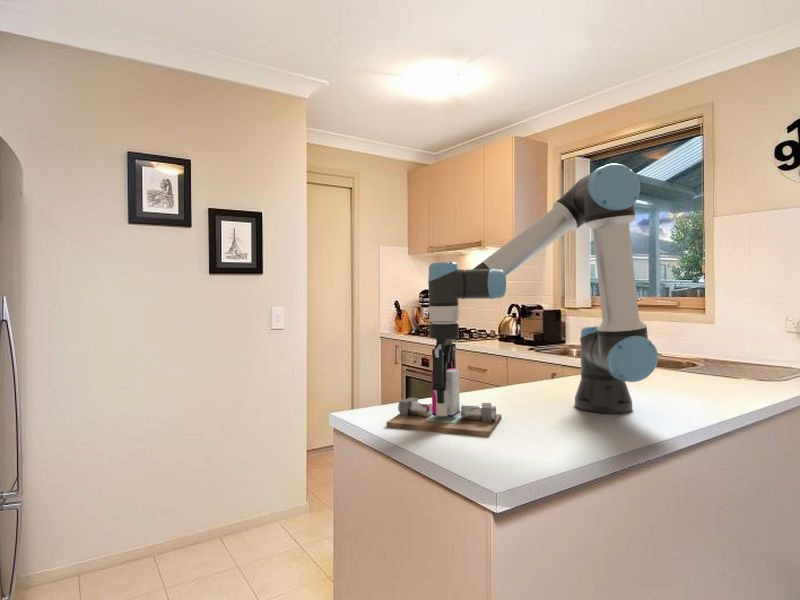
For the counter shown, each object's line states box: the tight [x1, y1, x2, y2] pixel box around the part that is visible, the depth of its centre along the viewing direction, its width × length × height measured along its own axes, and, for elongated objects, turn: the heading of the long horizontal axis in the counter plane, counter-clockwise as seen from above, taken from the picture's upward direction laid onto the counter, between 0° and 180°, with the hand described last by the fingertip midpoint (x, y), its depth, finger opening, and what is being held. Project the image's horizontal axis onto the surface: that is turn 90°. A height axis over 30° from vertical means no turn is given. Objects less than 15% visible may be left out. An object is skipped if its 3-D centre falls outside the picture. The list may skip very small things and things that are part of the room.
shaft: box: [397, 397, 432, 417], centre depth 131 cm, size 9×5×4 cm, turn 57°
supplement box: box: [430, 367, 461, 417], centre depth 127 cm, size 6×6×12 cm
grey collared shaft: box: [460, 402, 497, 423], centre depth 125 cm, size 9×5×4 cm, turn 80°
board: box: [386, 410, 503, 438], centre depth 128 cm, size 26×16×1 cm, turn 68°
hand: (445, 412), depth 127 cm, fingers closed on supplement box, 6 cm apart
